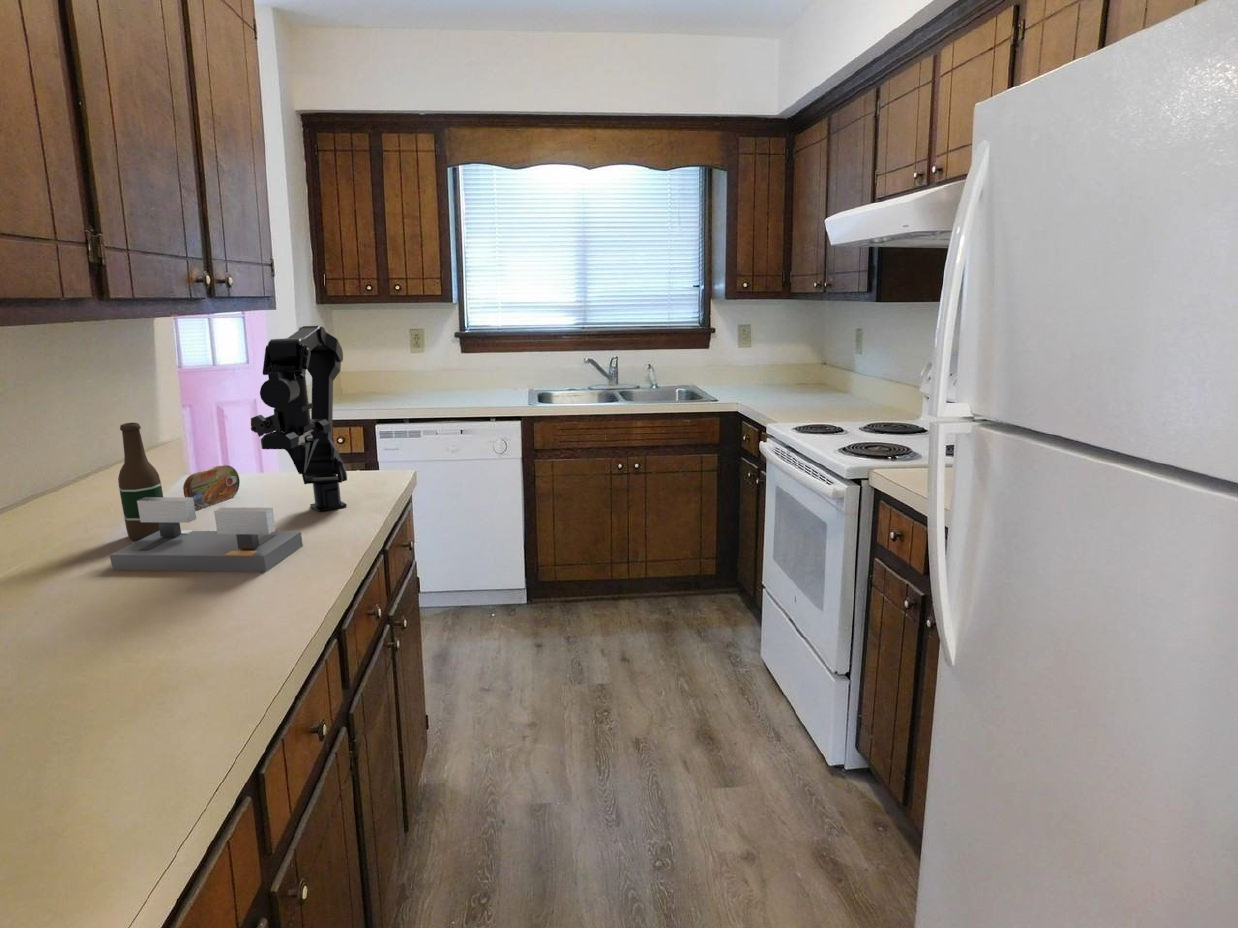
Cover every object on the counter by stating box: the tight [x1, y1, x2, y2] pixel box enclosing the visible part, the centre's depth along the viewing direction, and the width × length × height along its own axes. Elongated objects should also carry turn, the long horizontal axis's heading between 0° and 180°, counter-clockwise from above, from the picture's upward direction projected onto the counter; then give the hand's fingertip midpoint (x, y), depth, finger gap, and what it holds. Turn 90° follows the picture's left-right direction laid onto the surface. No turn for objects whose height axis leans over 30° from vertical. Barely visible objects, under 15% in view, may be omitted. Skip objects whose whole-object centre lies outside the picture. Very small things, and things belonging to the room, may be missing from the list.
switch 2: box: [213, 507, 277, 549], centre depth 147 cm, size 2×10×7 cm, turn 85°
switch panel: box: [109, 529, 304, 573], centre depth 152 cm, size 14×30×3 cm, turn 85°
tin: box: [182, 464, 240, 509], centre depth 190 cm, size 15×3×8 cm, turn 162°
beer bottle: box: [117, 422, 164, 542], centre depth 164 cm, size 8×8×24 cm
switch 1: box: [137, 496, 197, 537], centre depth 155 cm, size 2×10×7 cm, turn 85°
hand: (302, 473), depth 167 cm, fingers closed
